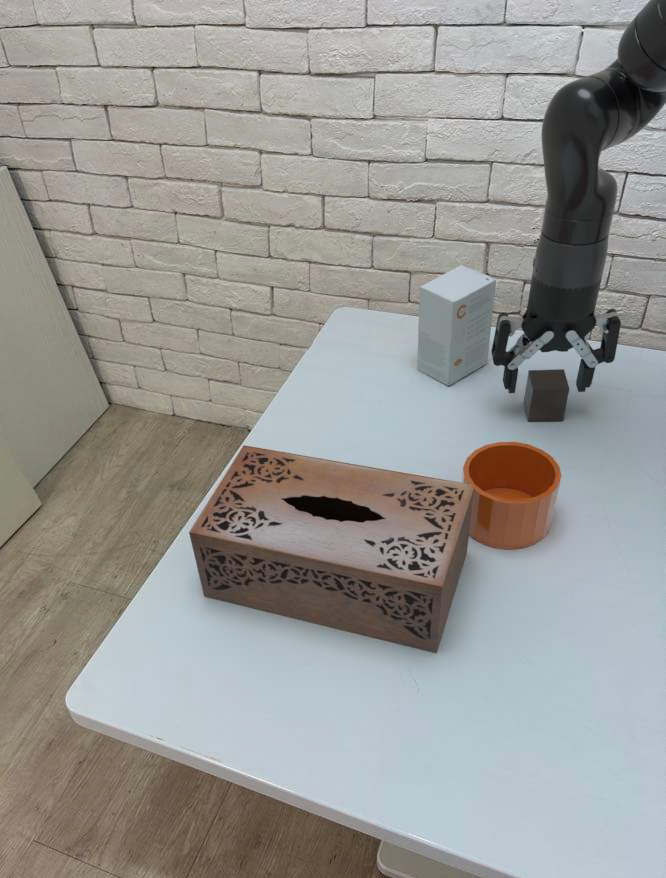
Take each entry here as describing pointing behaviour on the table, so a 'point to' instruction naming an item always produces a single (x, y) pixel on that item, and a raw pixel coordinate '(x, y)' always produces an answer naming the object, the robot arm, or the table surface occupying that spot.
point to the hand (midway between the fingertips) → (545, 389)
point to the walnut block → (546, 395)
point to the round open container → (511, 494)
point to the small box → (455, 324)
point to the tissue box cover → (335, 544)
